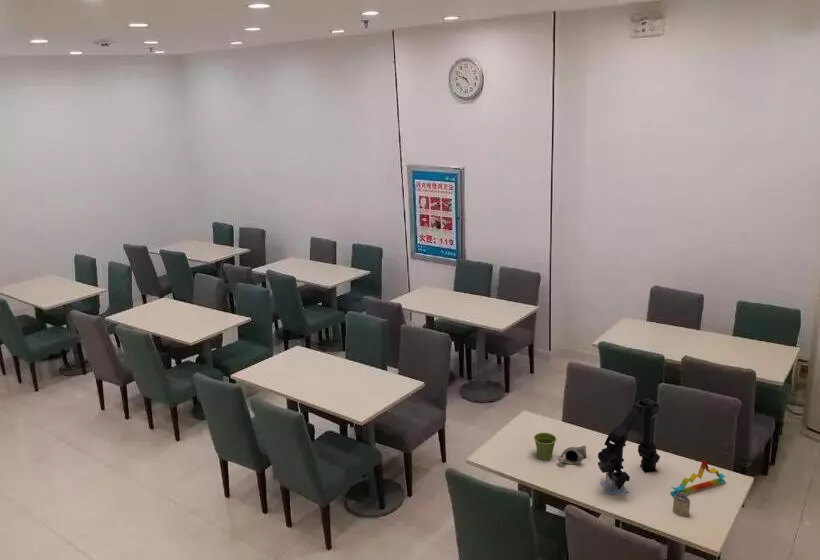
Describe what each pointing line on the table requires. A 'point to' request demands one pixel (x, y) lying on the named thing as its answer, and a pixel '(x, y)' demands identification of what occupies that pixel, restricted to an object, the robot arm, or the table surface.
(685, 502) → the old metal can
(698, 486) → the multicoloured triangular frame
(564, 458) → the animal shaped planter
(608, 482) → the collar
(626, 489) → the grey peg stand
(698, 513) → the table surface
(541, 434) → the plant pot
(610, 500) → the table surface
